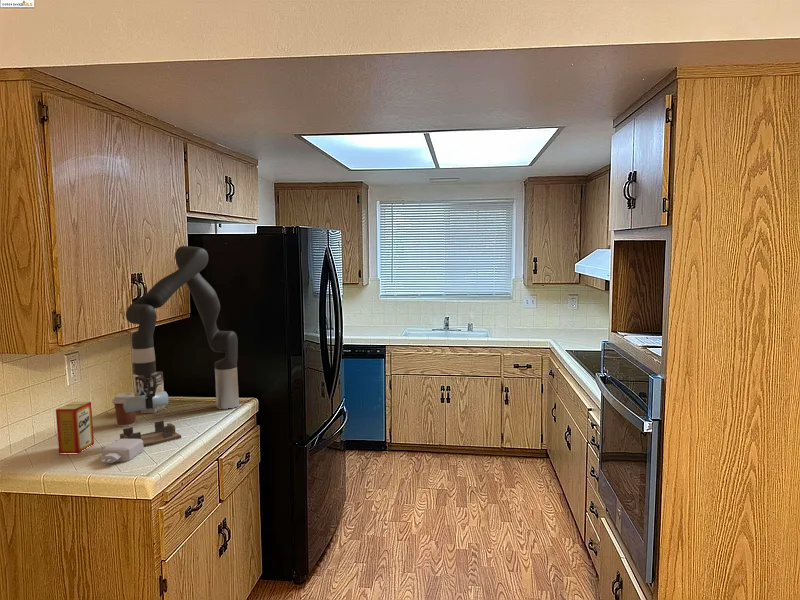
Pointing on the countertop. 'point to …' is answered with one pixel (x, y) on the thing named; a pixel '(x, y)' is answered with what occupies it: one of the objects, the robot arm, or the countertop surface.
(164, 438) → the walnut holder
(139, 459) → the countertop surface
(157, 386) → the coffee box
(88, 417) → the baking soda box
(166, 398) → the cylinder
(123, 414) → the coffee cup
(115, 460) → the charger
